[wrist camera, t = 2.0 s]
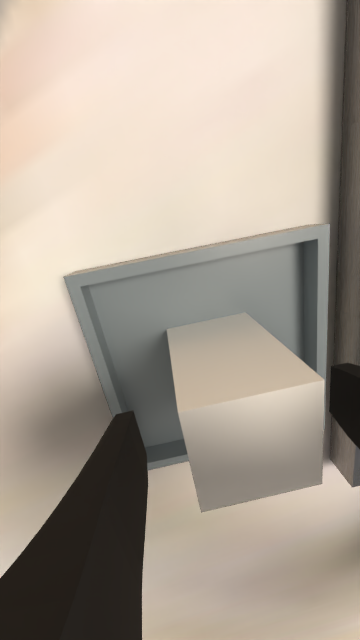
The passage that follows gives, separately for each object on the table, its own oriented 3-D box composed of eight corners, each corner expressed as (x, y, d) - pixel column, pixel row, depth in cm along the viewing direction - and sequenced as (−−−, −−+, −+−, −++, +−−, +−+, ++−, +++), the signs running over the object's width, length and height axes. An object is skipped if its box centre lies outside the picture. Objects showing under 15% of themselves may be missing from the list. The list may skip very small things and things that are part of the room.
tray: (308, 411, 15) (324, 429, 14) (134, 450, 15) (132, 473, 13) (308, 224, 11) (330, 223, 10) (75, 271, 11) (63, 277, 10)
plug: (252, 380, 14) (322, 483, 8) (181, 395, 13) (201, 512, 8) (245, 312, 12) (324, 379, 7) (166, 328, 12) (178, 412, 6)
